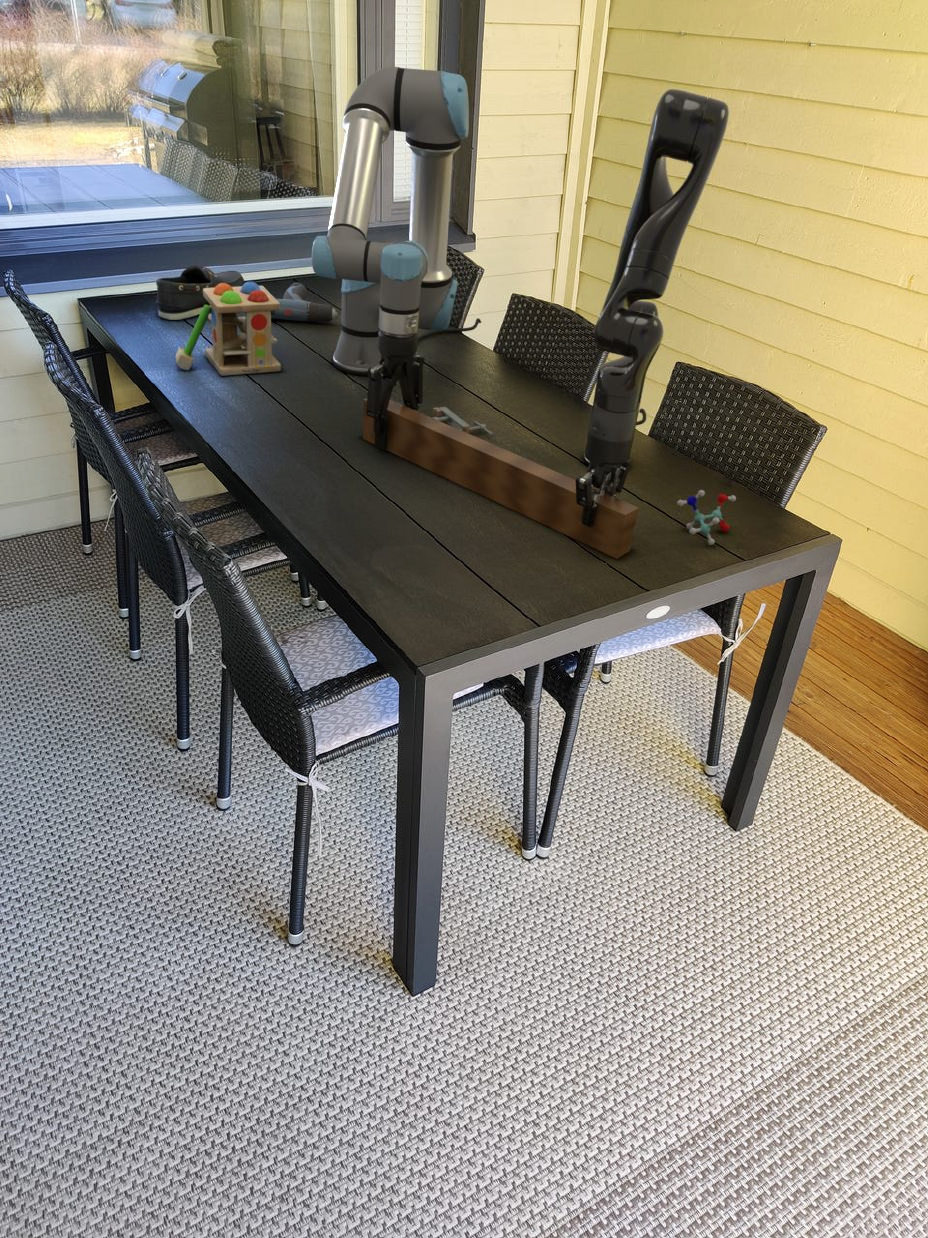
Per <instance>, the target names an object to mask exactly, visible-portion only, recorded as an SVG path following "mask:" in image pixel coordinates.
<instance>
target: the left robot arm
mask: <svg viewBox="0 0 928 1238" xmlns="http://www.w3.org/2000/svg"><path fill="white" fill-rule="evenodd" d="M466 81H467V80H466V79H465V78H464V77H463V75H461V74H457V73H452V72H446V71H445V70H431V69H419V68H408V67H407V68H406V67H400V66H387V67H382V68H379V69H378V70H376V71H373V72H372V73H370V75H368V76H366V78H364V79H363V80H362V81H361V82H360V83H359V85H358V86H357V87H356V88H355V90H354V91H353V92H352V94H351V96H350V97H349V99H348V101H347V103H346V106H345V109H344V114H343V117H342V128H343V131H344V133H345V135H344V142H343V146H342V151H341V152H342V153H341V158H340V163H339V168H338V173H337V178H336V179H337V180H336V185H335V191H334V196H333V202H332V207H331V212H330V218H329V223H328V229H327V235H317V236H316V237H315V238H314V241H313V243H312V248H311V266H312V271H313V273H314V274H315V275H316V276H318V277H323V278H328V279H333V280H336V281H337V280H342V281H341V288H340V292H341V319H340V321H341V324H340V325H341V326H340V329H341V330H340V336H339V338H338V341H337V344H336V348H335V350H334V352H333V361H332V362H333V363H332V364H333V366H334V367H335V368H337V369H338V370H339V371H342V372H344V373H347V374H352V375H356V376H368V385H367V397H366V398H367V406H366V415H367V416H369V417H372V418H374V433H375V444H374V447H376V448H378V449H380V450H382V451H387V450H386V449H387V433H388V419H387V418H385V416H386V412H387V408H388V405H389V401H390V400H391V397H392V393H393V390H394V387H396V386H397V382H398V383H399V388H400V392H401V396H402V402H403V406H406V407H408V408H410V409H413V410H415V411H418V410H419V409H420V405H421V404H422V403H423V401H424V393H423V392H424V364H425V360H426V358H425V357H424V356H422V355H419V354H417V352H418V342H419V341H420V340H423V339H424V338H426V337H429V336H432V335H435V334H440V333H456V332H457V333H460V332H470V331H473V330H475V329H476V328H478V325H479V324H481V323H482V320H481V318H478V317H477V318H476V319H475V322H474V325H472V326H469V327H459V328H458V327H455V328H454V327H451V328H450V327H449V325H450V323H451V318H452V313H453V309H454V303H455V300H456V294H457V290H458V284H459V282H458V280H456V279H455V278H453V270H452V269H451V268H450V267H449V266H448V264H447V255H448V241H449V240H448V238H449V222H450V221H449V220H450V205H451V204H450V203H451V191H452V189H451V188H452V173H453V155H454V154H455V153H456V152H457V151H458V150H459V149H460V148H461V144H462V142H461V141H462V140H464V139H467V138H468V137H469V130H470V125H469V123H470V107H469V105H470V103H469V92H468V85H467V82H466ZM392 131H395V132H399V133H400V132H401V133H405V144H406V146H407V147H408V148H409V149H410V150H411V176H410V177H411V178H410V179H411V180H410V182H411V183H410V202H409V203H410V205H409V233H408V235H409V236H408V240H403V241H401V242H399V243H390V242H380V241H372V240H367V238H368V233H369V226H370V225H369V224H370V221H371V214H372V208H373V203H374V196H375V190H376V183H377V180H378V179H377V178H378V172H379V168H380V167H379V166H380V160H381V155H382V150H383V144H384V143H385V142H386V141H387V140H388V139H389V136H390V132H392ZM418 330H427V332H425V333H422V334H421V335H418V333H417V332H418ZM379 411H380V412H379Z"/></svg>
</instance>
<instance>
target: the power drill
mask: <svg viewBox="0 0 928 1238" xmlns="http://www.w3.org/2000/svg"><path fill="white" fill-rule="evenodd" d="M307 295H308V290H307V287H306V285H304V284H303V283H301V282H293V283H292V284H291V285H290V286H289V287H288V288H287V289H286V291H285V292H284V294H283V297H282V298H275V299H276V300H277V301H278V302H279V303H280V310H271V319H274V320H275V319H276V320H283V321H294V322H295V321H297V322H332V321H333V320H334V319H336V318H337V317H338V312H337V311H336V308H334V307H333V306H332V305H331V304H324V303H317V302H313V301H307V300H305V299H306V297H307Z"/></svg>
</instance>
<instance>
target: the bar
mask: <svg viewBox="0 0 928 1238" xmlns="http://www.w3.org/2000/svg"><path fill="white" fill-rule="evenodd" d="M362 401H363V404H362V406H363V407H362V440H364V441H366V442H368V443H370V444H372V445H375V433H374V418H372V417H369V416H367V415H366V406H367V397H366V398H363V400H362ZM379 412H380V411H379ZM385 418H387V419H388V433H387V449H386V450H385V451H388V452H390V453H392V454H393V455H396V456H398V457H400V458H402V459H405V460H406V461H409V462H410V463H412V464H415V465H417V466H418V467H421V468H424V469H426V470H428V471H430V472H431V473H434V474H436V475H438V476H440V477H442V478H444V479H447V480H449V481H451V482H453V483H455V484H457V485H460V486H461V487H464V488H466V489H467V490H470V491H472V492H474V493H476V494H478V495H480V496H483V497H485V498H487V499H489V500H491V501H493V502H496V503H498V504H500V505H502V506H503V507H506V508H508V509H510V510H511V511H514V512H517V513H519V514H520V515H522V516H525V517H527V518H529V519H531V520H534V521H536V522H537V523H540V524H542V525H545V527H548V528H551V529H553V530H555V531H556V532H558V533H561V534H563V535H565V536H567V537H569V538H571V539H574V540H576V541H578V542H580V543H583V544H584V545H587V546H588V547H591V548H593V549H595V550H597V551H600V552H601V553H603V554H605V555H607V556H609V557H612V558H614V559H617V560H618V559H619V558H620V557H622V556H624V555H626V554H627V553H629V552H631V547H632V542H633V537H634V533H635V528H636V523H637V517H638V512H639V506H636V505H634V504H631V503H629V502H627V501H624V500H623V499H621V498H618V497H613V496H611V495H609V494H606V493H604V495H603V496H602V497H600V499H599V502H598V505H597V507H596V508H597V510H596V515H595V521H594V525H593V526H592V527H587V526H585V525H583V524H582V522H581V521H582V514H583V508H584V507H582V506H580V505H578V504H577V503H576V479H574V478H571V477H569V476H567V475H565V474H562V473H560V472H557V471H555V470H553V469H551V468H548V467H546V466H544V465H541V464H539V463H537V462H535V461H533V460H530V459H528V458H526V457H523V456H521V455H519V454H516V453H514V452H512V451H510V450H507V449H505V448H502V447H500V446H498V445H495V444H493V443H491V442H488V441H487V440H484V439H482V438H479V437H477V436H476V435H472V434H471V433H469V434H468V433H466V432H463V431H461V430H459V429H456V428H454V427H452V426H450V425H448V424H447V423H446V422H440V421H438V420H436V419H433V417H432V416H429V415H426V414H424V413H422V412H419V411H418V410H413V409H410V408H408V407H406V406H405V405H404V404H401V403H399V402H396V401H394V400H393V399H392V400H391V399H390V401H389V405H388V408H387V412H386V416H385ZM592 488H593V489H595V490H598V491H599V489H598V488H596V487H592ZM593 499H594V495H592V501H593Z"/></svg>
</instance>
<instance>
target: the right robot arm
mask: <svg viewBox="0 0 928 1238" xmlns="http://www.w3.org/2000/svg"><path fill="white" fill-rule="evenodd" d="M729 116H730V111H729V106H728V104H727V103H726V102H725V101H723V100H719V99H716V98H712V97H709V96H705V95H702V94H697V93H693V92H689V91H686V90H682V89H675V88H669V89H667V90H666V91H664V93H663V94H662V95H661V96H660V98H659V100H658V102H657V104H656V107H655V109H654V112H653V116H652V120H651V124H650V128H649V133H648V138H647V142H646V148H645V153H644V158H643V162H642V163H643V164H642V168H641V173H640V177H639V181H638V185H637V188H636V192H635V196H634V199H633V202H632V205H631V209H630V211H629V214H628V218H627V221H626V225H625V227H624V228H625V229H624V232H623V236H622V240H621V243H620V248H619V253H618V257H617V262H616V266H615V269H614V273H613V277H612V280H611V282H610V286H609V288H608V291H607V293H606V296H605V298H604V300H603V301H604V302H603V305H602V308H601V310H600V314H599V317H598V318H597V320H596V324H595V327H594V333H593V334H594V335H593V336H594V341H595V344H596V347H597V348H598V349H599V350H601V351H603V352H605V353H610V354H614V355H618V356H620V357H618V358H616V359H612V360H608V361H606V362H603V364H601V365H600V367H599V368H598V372H597V377H596V383H595V389H594V396H593V401H592V402H593V403H592V407H591V414H590V418H589V419H590V420H589V426H588V431H587V438H586V444H585V450H584V453H583V461H584V463H585V464H586V465H587V466H588V467H587V469H586V474H585V475H583V476H580V475H577V476H576V478H575V480H576V503H577V504H578V505H580V506H582V507H584V508H583V514H582V521H581V522H582V524H583V525H585V526H587V527H592V526H593V525H594V521H595V515H596V510H597V508H596V507H597V505H598V502H599V499H600V497H602V496H603V495H604V493H606V494H609V495H611V496H613V497H615V498H617V494H621V493H622V492H623V488H624V486H625V483H626V480H627V477H628V475H629V471H630V469H631V465H632V461H631V460H630V458H631V453H632V449H633V444H634V438H635V434H636V433H635V432H636V428H637V426H641V425H643V424H645V423H646V421H647V412H646V410H645V409H644V408H640V407H641V402H642V401H641V400H642V395H643V390H644V387H645V380H646V376H647V372H648V369H649V368H650V366H651V364H652V361H653V359H654V357H655V356H656V354H657V352H658V351H659V349H660V346H661V344H662V341H663V339H664V326H663V322H662V321H661V319H660V318H659V310H658V307H657V305H656V303H655V302H652V301H649V300H658V299H660V298H662V297H663V296H664V295H665V292H666V290H667V287H668V284H669V280H670V278H671V274H672V271H673V267H674V265H675V261H676V258H677V254H678V251H679V249H680V246H681V243H682V240H683V238H684V236H685V233H686V231H687V228H688V226H689V223H690V221H691V220H692V217H693V215H694V212H695V210H696V208H697V205H698V204H699V201H700V199H701V196H702V194H703V192H704V189H705V187H706V185H707V182H708V179H709V177H710V175H711V173H712V170H713V168H714V164H715V162H716V160H717V157H718V155H719V152H720V150H721V147H722V143H723V142H724V141H723V140H724V139H725V138H724V137H725V135H726V131H727V127H728V124H729ZM667 158H669V159H673V160H676V161H680V162H684V163H687V164H691V167H690V170H689V172H688V174H687V176H686V178H685V179H684V180H683V182H682V184H681V185H680V187H679V188H678V189H677V190H676V192H674V191H673V189H672V186H671V184H670V183H671V182H670V180H669V175H668V169H667ZM621 356H622V357H621ZM639 413H640V414H641V416H642V419H640V420H638V417H639ZM593 488H595V489H597V490H595V489H593ZM598 490H599V491H598ZM592 495H594V499H593V501H592Z"/></svg>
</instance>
